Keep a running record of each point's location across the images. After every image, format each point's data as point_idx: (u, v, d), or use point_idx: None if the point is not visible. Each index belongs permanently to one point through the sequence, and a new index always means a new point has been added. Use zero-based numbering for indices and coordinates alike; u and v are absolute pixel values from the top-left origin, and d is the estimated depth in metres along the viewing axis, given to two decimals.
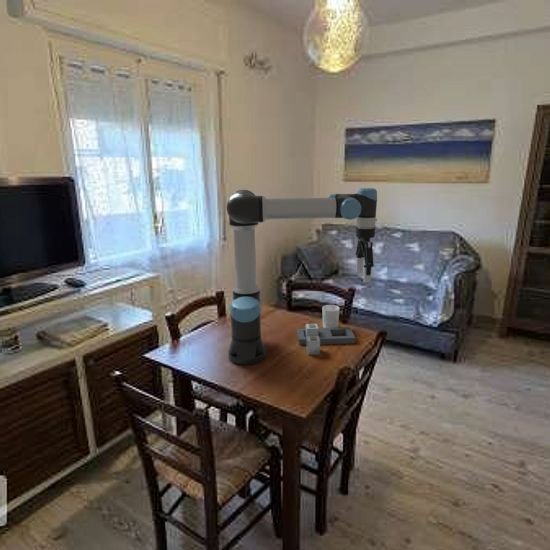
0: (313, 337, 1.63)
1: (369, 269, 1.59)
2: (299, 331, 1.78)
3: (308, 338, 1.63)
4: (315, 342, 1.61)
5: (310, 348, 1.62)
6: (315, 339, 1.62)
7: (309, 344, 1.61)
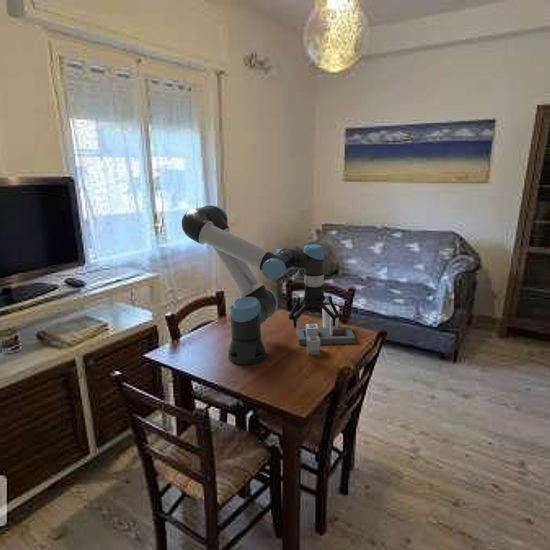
0: (313, 337, 1.63)
1: (293, 321, 1.60)
2: (299, 331, 1.78)
3: (308, 338, 1.63)
4: (315, 342, 1.61)
5: (310, 348, 1.62)
6: (315, 339, 1.62)
7: (309, 344, 1.61)
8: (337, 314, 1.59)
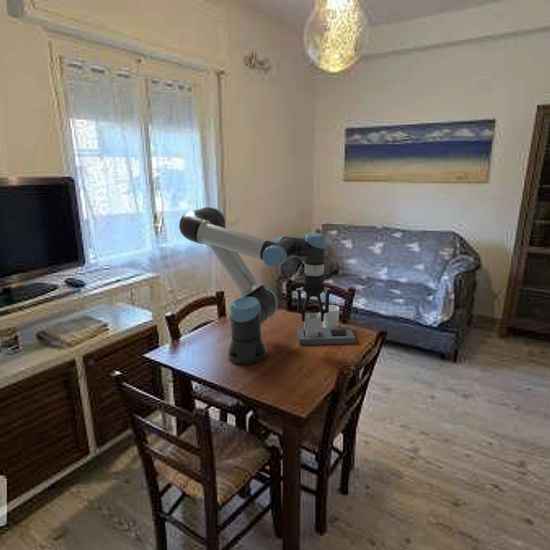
0: (313, 314, 1.60)
1: None
2: (299, 331, 1.78)
3: (307, 315, 1.61)
4: (315, 319, 1.58)
5: (309, 325, 1.59)
6: (315, 316, 1.59)
7: (308, 321, 1.58)
8: (327, 309, 1.59)
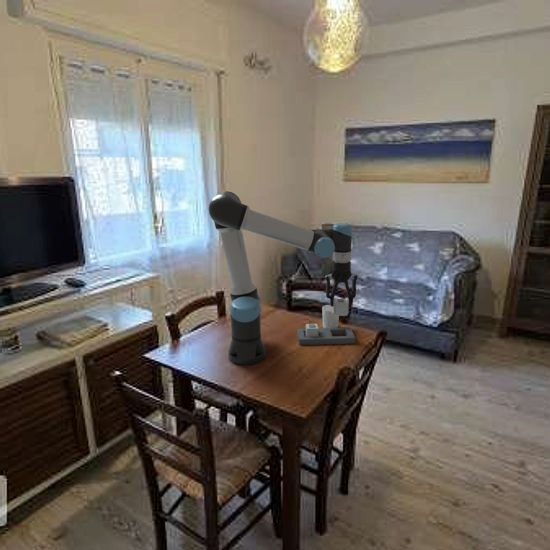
0: (341, 299, 1.71)
1: (330, 300, 1.71)
2: (299, 331, 1.78)
3: (336, 300, 1.72)
4: (343, 303, 1.69)
5: (338, 309, 1.70)
6: (343, 301, 1.70)
7: (337, 305, 1.69)
8: (354, 294, 1.70)
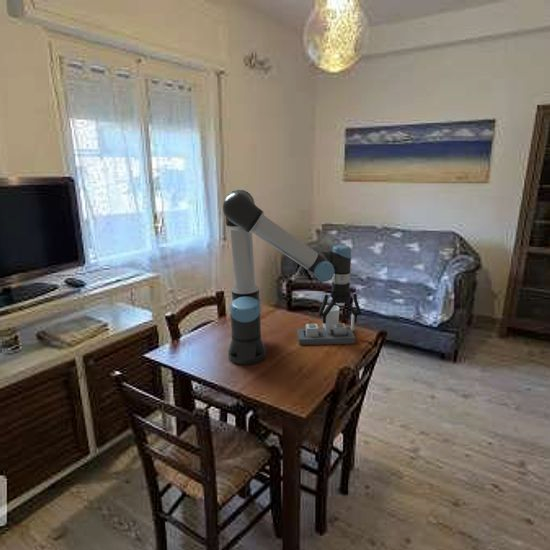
0: (340, 324, 1.75)
1: None
2: (299, 331, 1.78)
3: (335, 325, 1.75)
4: (342, 329, 1.73)
5: (337, 335, 1.73)
6: (342, 326, 1.74)
7: (336, 331, 1.73)
8: (359, 311, 1.72)
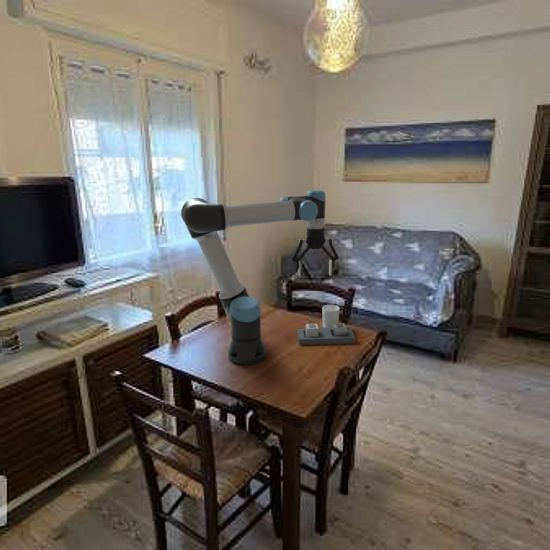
0: (340, 324, 1.75)
1: (296, 263, 1.74)
2: (299, 331, 1.78)
3: (335, 325, 1.75)
4: (342, 329, 1.73)
5: (337, 335, 1.73)
6: (342, 326, 1.74)
7: (336, 331, 1.73)
8: (336, 256, 1.73)
